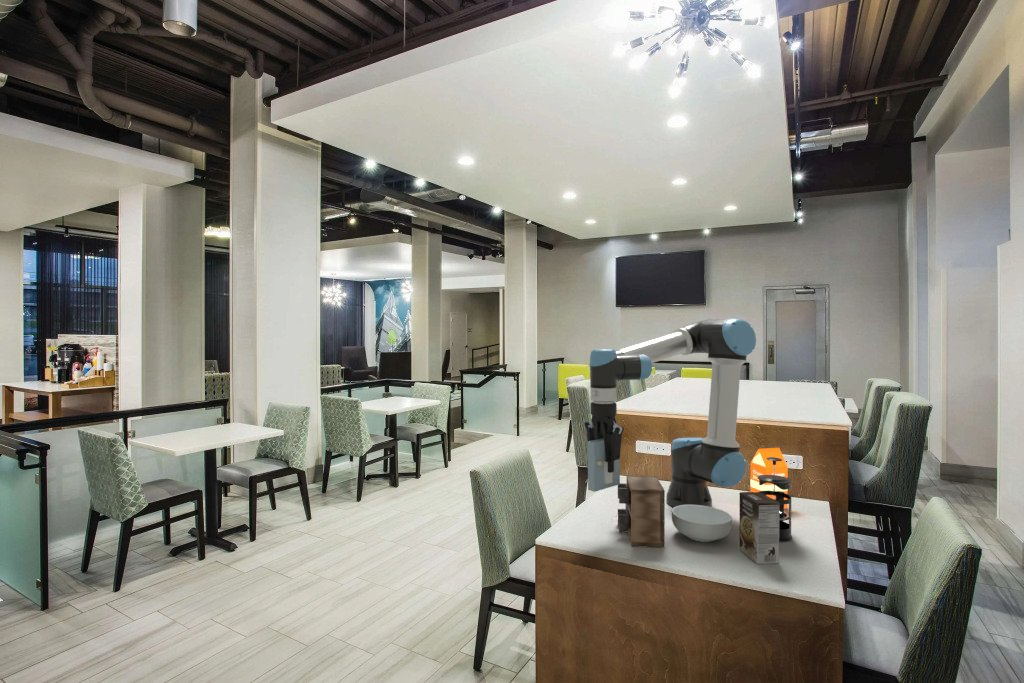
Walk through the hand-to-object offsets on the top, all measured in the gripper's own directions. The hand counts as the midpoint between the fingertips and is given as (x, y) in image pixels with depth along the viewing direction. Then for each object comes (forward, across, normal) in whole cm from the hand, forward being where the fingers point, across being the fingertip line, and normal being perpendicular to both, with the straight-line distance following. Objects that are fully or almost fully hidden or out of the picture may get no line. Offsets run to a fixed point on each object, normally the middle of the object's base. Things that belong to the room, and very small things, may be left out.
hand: (604, 481), depth 151 cm
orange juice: (+17, +17, +65) cm, 70 cm away
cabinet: (+17, +6, +9) cm, 20 cm away
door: (+2, 0, 0) cm, 2 cm away
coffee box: (+17, +34, +22) cm, 44 cm away
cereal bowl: (+17, +18, +22) cm, 33 cm away
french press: (+17, +30, +41) cm, 54 cm away
